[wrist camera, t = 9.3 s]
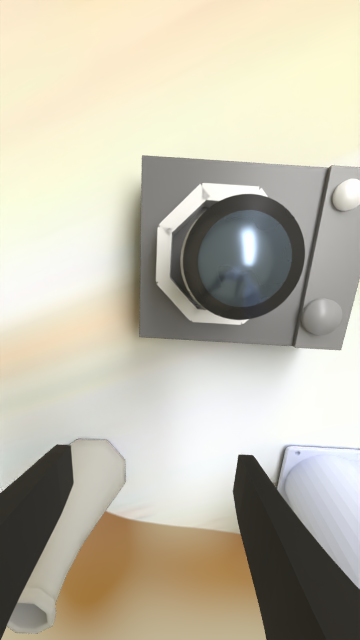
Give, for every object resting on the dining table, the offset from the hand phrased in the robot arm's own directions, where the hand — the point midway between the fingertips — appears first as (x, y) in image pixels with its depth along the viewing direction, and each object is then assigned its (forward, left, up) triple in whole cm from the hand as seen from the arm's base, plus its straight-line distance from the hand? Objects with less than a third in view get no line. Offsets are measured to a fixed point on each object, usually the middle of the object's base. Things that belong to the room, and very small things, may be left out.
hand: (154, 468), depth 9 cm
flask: (+7, +12, -11) cm, 18 cm away
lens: (-3, -9, -7) cm, 12 cm away
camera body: (-5, -9, -10) cm, 15 cm away
